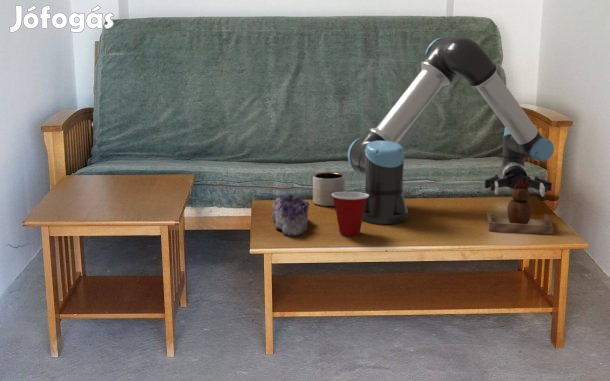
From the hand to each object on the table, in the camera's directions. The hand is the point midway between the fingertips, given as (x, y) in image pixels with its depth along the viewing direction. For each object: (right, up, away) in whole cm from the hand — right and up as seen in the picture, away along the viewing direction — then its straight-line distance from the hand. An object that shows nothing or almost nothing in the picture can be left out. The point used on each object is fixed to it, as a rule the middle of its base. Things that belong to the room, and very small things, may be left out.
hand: (519, 191), depth 212 cm
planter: (-57, -4, +24) cm, 62 cm away
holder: (-2, -11, -4) cm, 11 cm away
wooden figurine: (-2, -10, -4) cm, 11 cm away
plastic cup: (-52, -12, -10) cm, 55 cm away
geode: (-69, -11, -3) cm, 70 cm away
